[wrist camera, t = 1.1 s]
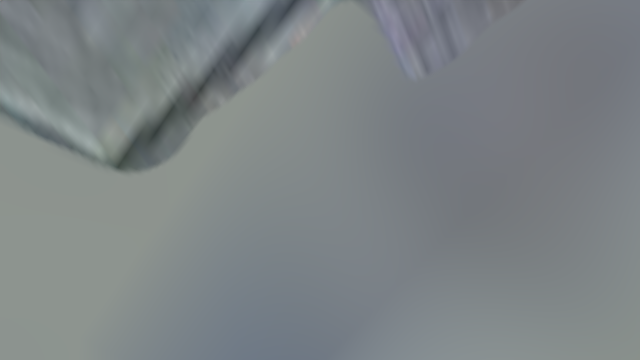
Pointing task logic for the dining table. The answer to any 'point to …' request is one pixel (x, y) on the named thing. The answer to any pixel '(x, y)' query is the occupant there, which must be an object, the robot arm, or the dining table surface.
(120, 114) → the dining table surface
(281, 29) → the dining table surface
